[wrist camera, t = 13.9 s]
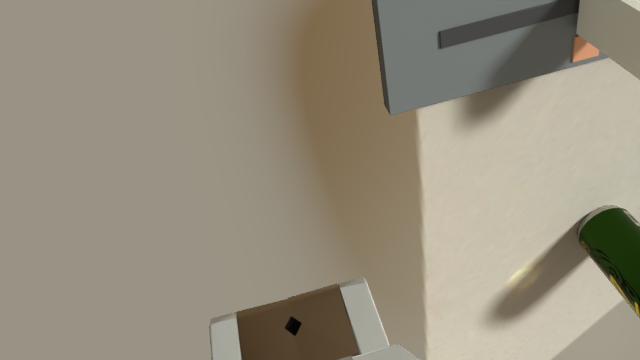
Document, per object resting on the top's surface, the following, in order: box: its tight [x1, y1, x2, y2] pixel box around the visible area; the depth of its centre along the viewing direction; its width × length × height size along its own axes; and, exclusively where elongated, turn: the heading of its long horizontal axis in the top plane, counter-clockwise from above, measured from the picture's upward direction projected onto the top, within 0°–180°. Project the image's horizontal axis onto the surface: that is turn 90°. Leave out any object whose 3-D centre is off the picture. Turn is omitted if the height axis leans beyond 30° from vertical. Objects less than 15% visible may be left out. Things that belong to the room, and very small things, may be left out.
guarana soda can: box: [577, 205, 640, 318], centre depth 53 cm, size 5×5×12 cm
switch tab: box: [576, 0, 640, 80], centre depth 37 cm, size 4×2×8 cm, turn 10°
